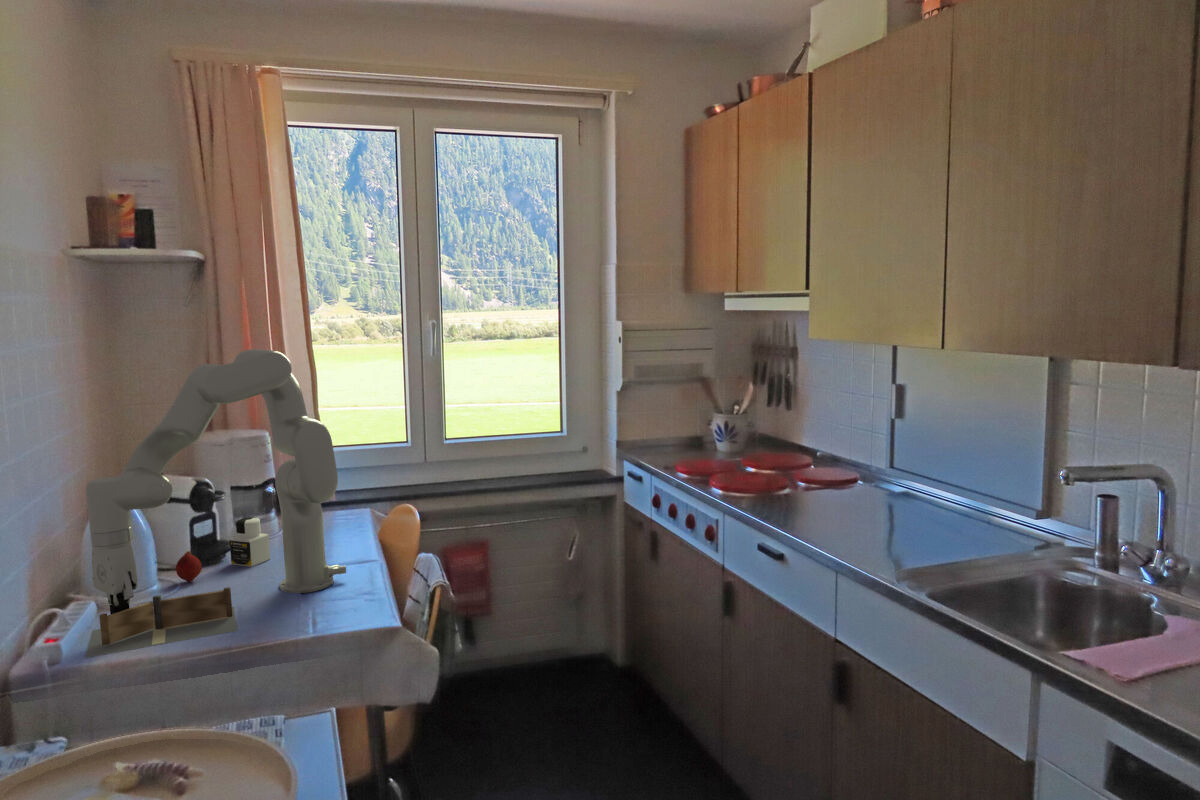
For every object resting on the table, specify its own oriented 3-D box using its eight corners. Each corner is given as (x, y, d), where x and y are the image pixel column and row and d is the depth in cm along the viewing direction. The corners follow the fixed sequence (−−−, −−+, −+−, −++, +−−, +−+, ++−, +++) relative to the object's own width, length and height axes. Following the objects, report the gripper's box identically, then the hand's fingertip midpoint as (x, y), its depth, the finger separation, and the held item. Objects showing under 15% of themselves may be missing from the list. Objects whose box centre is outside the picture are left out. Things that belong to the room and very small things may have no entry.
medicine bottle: (230, 564, 227) (227, 521, 226) (250, 556, 234) (247, 514, 232) (251, 567, 225) (247, 523, 223) (271, 559, 231) (267, 516, 230)
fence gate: (152, 626, 182) (149, 598, 181) (155, 627, 181) (153, 600, 180) (100, 644, 173) (97, 615, 172) (104, 645, 172) (101, 616, 171)
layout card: (233, 608, 194) (233, 606, 194) (237, 632, 180) (237, 630, 180) (92, 632, 182) (92, 630, 182) (84, 659, 168) (84, 657, 168)
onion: (192, 586, 210) (189, 555, 209) (171, 585, 212) (169, 554, 211) (207, 578, 216) (204, 548, 215) (187, 577, 217) (184, 547, 216)
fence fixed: (232, 614, 190) (230, 584, 189) (232, 616, 188) (230, 586, 187) (155, 627, 183) (152, 596, 182) (155, 630, 181) (152, 598, 181)
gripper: (75, 536, 177) (85, 620, 179) (111, 547, 169) (120, 635, 171) (113, 527, 183) (121, 609, 185) (148, 537, 175) (157, 622, 177)
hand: (121, 621), depth 178 cm, fingers closed
